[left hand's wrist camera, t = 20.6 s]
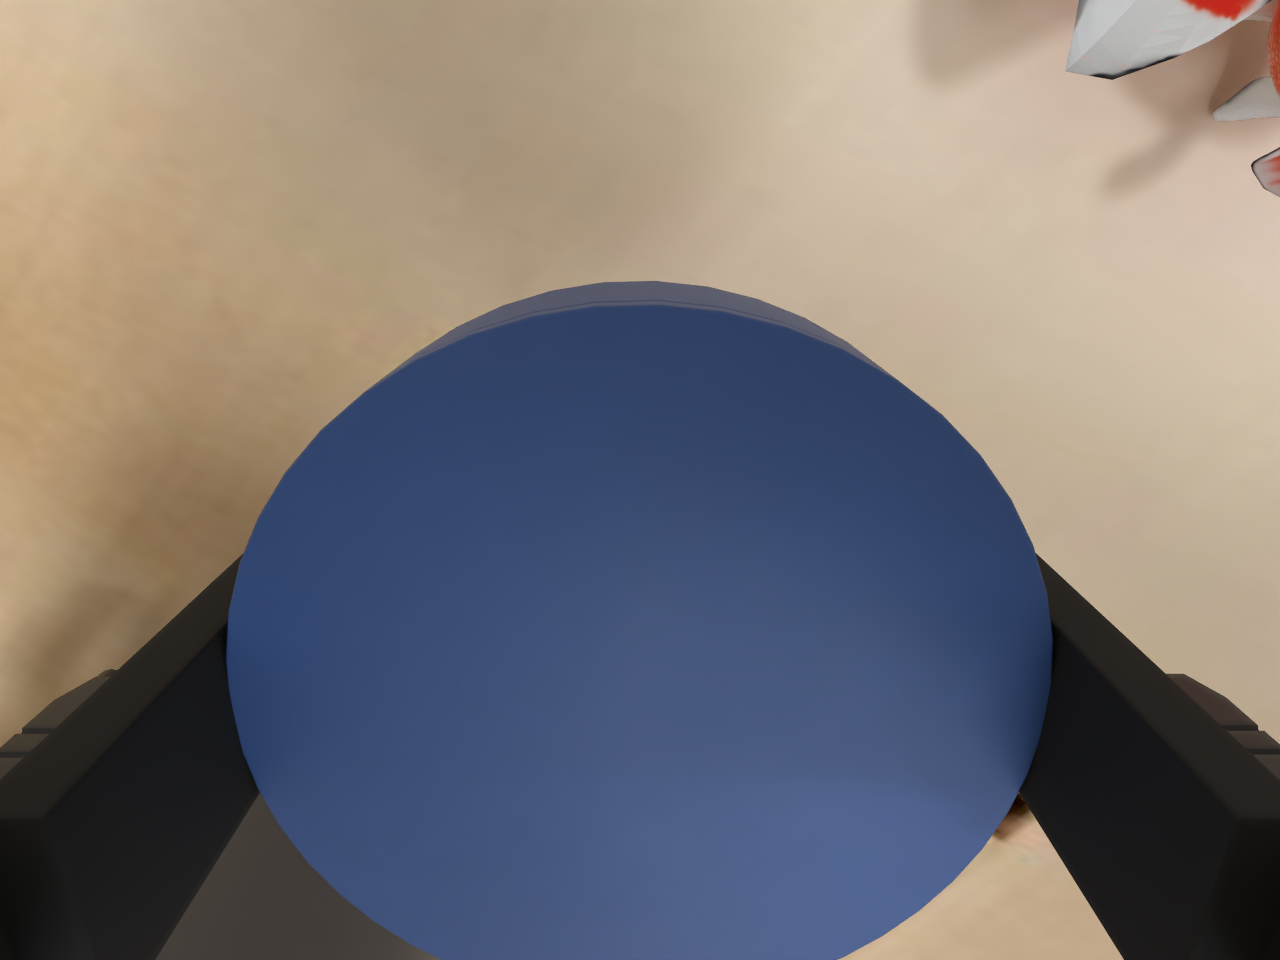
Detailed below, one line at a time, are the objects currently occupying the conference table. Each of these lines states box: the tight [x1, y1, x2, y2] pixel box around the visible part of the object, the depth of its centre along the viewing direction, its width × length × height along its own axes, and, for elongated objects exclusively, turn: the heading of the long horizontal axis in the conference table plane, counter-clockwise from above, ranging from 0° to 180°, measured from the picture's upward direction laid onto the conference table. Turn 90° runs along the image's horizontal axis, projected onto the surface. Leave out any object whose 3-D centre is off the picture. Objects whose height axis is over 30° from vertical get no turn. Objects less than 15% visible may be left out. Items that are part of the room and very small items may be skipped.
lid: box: [226, 281, 1053, 960], centre depth 11 cm, size 11×11×2 cm
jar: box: [156, 793, 441, 960], centre depth 24 cm, size 10×10×20 cm
